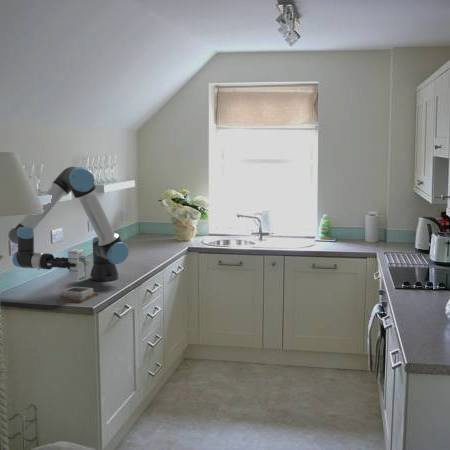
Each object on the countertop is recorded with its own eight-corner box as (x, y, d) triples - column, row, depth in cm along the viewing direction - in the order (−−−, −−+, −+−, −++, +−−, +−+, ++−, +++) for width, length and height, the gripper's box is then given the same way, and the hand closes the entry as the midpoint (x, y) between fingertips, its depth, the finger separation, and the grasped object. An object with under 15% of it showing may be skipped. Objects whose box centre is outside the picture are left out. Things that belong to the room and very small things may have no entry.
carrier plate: (75, 293, 310) (75, 290, 310) (97, 295, 306) (97, 292, 306) (57, 300, 295) (57, 297, 295) (80, 302, 291) (80, 299, 291)
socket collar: (74, 291, 307) (73, 286, 307) (93, 293, 304) (93, 288, 303) (62, 296, 297) (62, 291, 297) (81, 298, 294) (81, 292, 294)
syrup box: (78, 282, 296) (78, 251, 294) (68, 281, 298) (67, 250, 296) (85, 279, 301) (85, 249, 299) (75, 278, 303) (74, 248, 301)
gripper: (54, 265, 313) (96, 268, 306) (32, 272, 295) (76, 275, 288) (54, 250, 312) (96, 253, 305) (31, 256, 295) (75, 259, 287)
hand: (86, 264), depth 297 cm, fingers closed on syrup box, 6 cm apart
